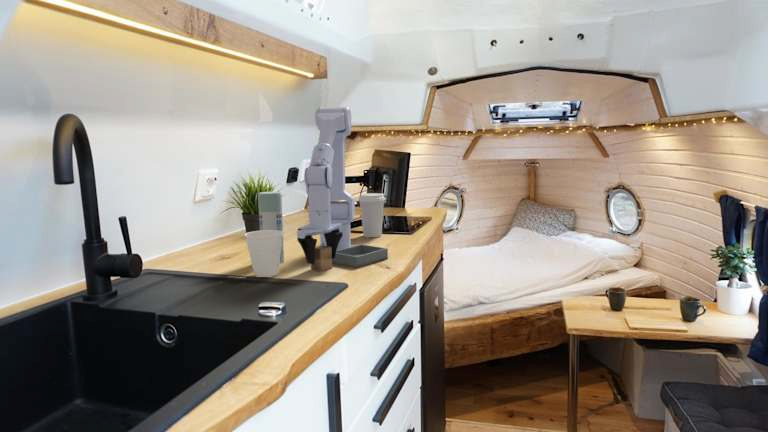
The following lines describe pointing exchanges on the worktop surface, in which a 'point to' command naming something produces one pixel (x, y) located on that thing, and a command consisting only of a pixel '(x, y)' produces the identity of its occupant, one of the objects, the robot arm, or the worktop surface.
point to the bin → (360, 255)
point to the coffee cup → (372, 213)
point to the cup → (265, 251)
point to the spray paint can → (271, 214)
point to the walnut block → (322, 258)
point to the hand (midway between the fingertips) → (321, 260)
